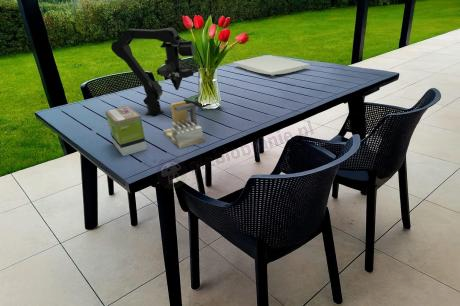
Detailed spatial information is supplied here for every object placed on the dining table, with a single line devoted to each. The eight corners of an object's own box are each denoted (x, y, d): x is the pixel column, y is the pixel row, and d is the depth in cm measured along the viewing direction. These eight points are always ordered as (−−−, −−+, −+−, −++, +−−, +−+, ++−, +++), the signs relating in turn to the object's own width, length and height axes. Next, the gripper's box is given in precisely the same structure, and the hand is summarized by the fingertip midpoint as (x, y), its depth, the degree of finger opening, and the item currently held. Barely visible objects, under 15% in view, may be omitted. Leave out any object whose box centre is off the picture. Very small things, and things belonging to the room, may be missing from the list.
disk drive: (216, 103, 189) (197, 98, 198) (216, 98, 187) (196, 93, 196) (202, 109, 182) (183, 103, 191) (201, 103, 181) (182, 98, 190)
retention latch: (173, 133, 149) (169, 103, 143) (186, 129, 151) (183, 100, 146) (178, 137, 144) (174, 106, 139) (192, 133, 147) (188, 103, 141)
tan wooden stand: (163, 133, 154) (158, 102, 147) (186, 127, 158) (182, 96, 152) (179, 148, 139) (175, 114, 133) (205, 141, 144) (201, 107, 137)
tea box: (112, 144, 147) (104, 110, 141) (135, 137, 152) (129, 104, 145) (122, 157, 135) (114, 120, 129) (147, 149, 140) (141, 114, 133)
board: (233, 68, 258) (233, 61, 256) (268, 61, 273) (268, 55, 271) (271, 79, 223) (271, 72, 221) (309, 71, 237) (309, 64, 235)
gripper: (145, 59, 163) (151, 92, 170) (175, 62, 153) (180, 96, 160) (163, 54, 171) (167, 86, 178) (192, 56, 161) (196, 90, 168)
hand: (177, 89), depth 171 cm, fingers closed
